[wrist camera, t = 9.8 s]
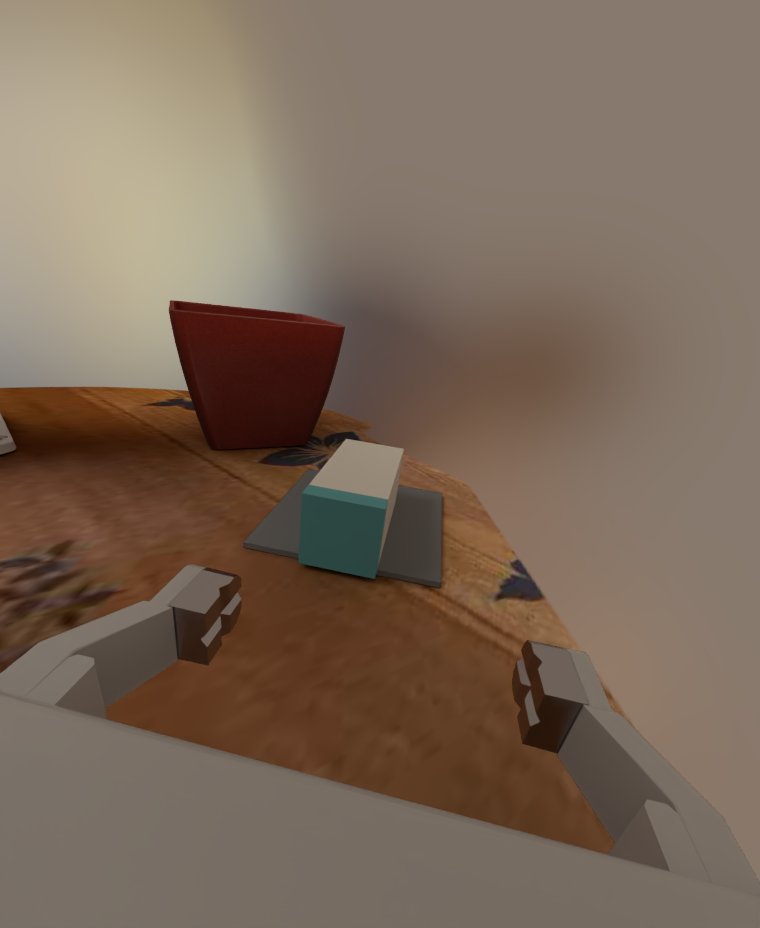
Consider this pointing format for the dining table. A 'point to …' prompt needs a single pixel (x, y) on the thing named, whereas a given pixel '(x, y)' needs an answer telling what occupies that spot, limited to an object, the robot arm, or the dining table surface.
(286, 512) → the mat
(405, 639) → the dining table surface
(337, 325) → the plant pot
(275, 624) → the dining table surface
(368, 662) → the dining table surface
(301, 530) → the cream block
